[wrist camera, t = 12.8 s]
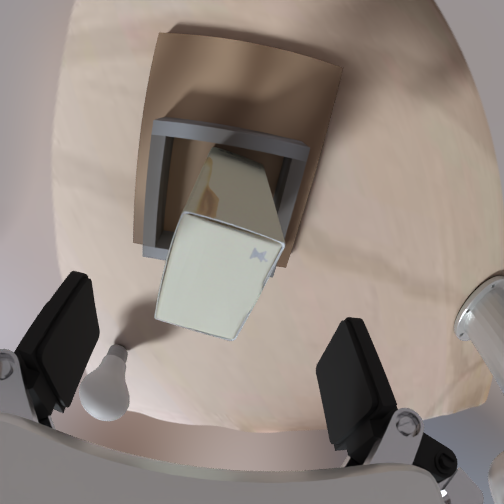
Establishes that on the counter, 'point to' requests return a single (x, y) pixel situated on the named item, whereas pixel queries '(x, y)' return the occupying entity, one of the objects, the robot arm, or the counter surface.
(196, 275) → the skincare box
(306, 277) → the counter surface
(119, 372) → the lightbulb
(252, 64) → the holder board
